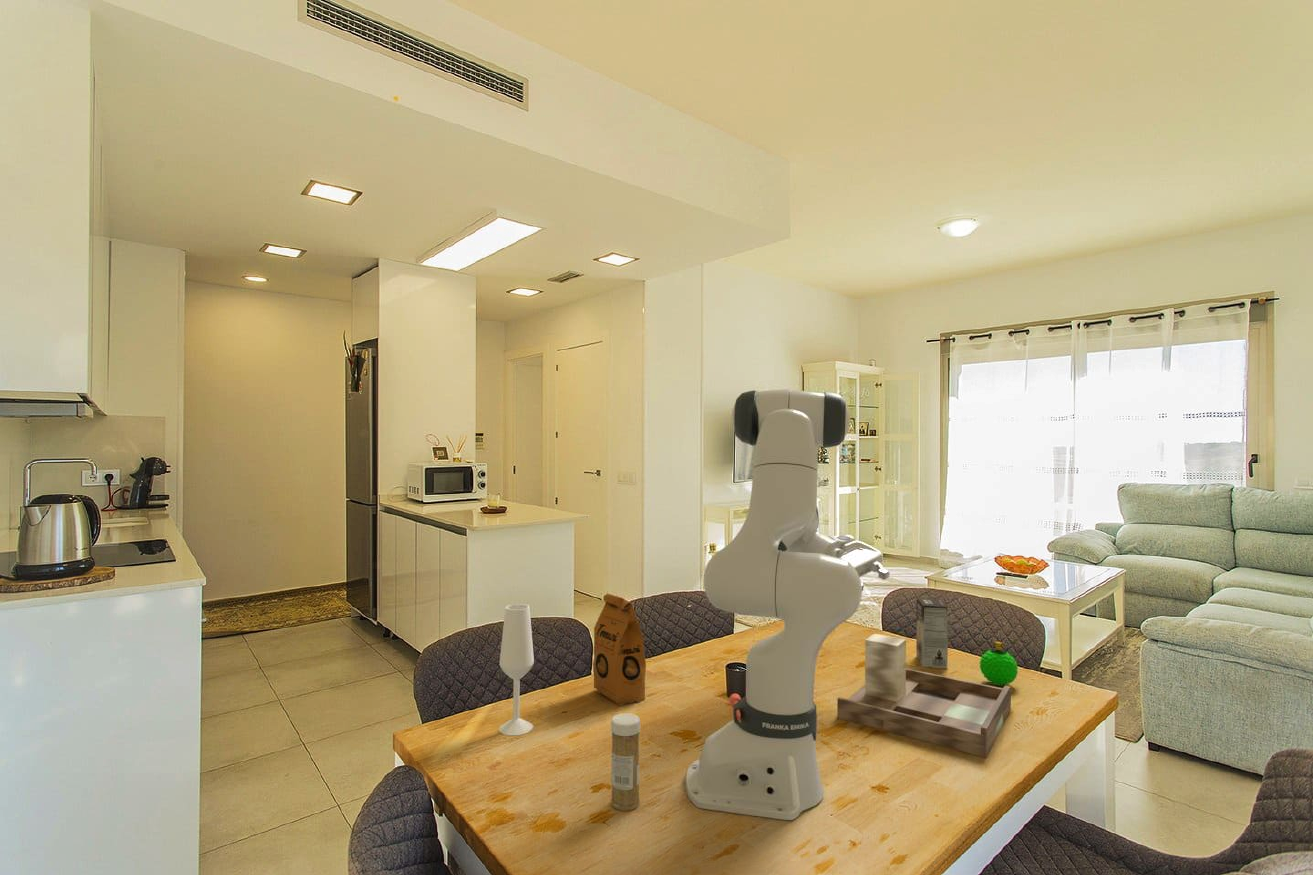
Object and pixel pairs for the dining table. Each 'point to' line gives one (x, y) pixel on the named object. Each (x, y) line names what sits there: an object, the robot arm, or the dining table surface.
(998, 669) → the ornament
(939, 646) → the coffee box
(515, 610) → the champagne flute
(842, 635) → the dining table surface
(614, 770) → the spice jar
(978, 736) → the tray
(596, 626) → the coffee package
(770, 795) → the robot arm
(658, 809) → the dining table surface
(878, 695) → the birch block
